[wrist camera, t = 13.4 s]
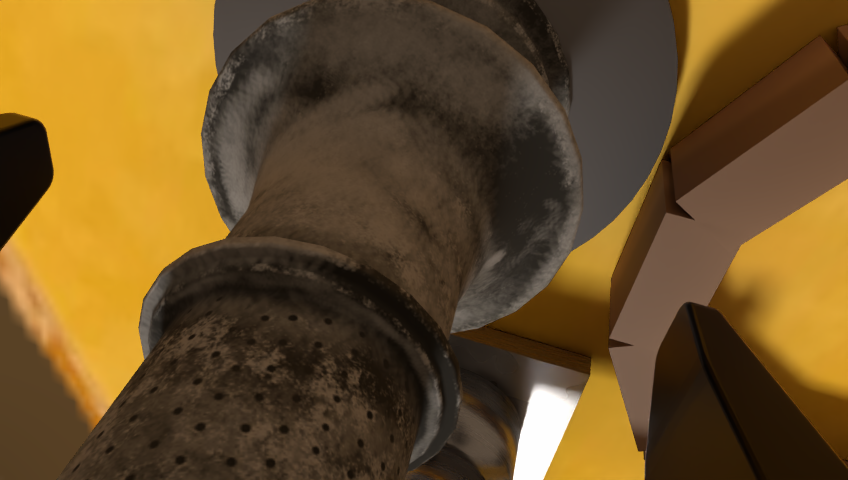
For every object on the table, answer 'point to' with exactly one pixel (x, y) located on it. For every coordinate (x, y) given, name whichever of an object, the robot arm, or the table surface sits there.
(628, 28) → the pad
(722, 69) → the table surface
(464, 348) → the pivot block
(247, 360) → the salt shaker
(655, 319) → the socket ring
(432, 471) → the clamp
